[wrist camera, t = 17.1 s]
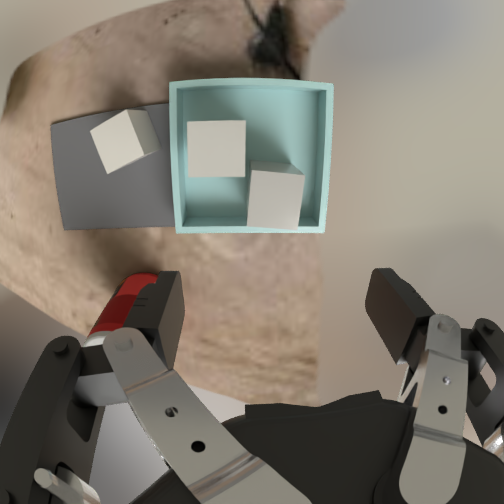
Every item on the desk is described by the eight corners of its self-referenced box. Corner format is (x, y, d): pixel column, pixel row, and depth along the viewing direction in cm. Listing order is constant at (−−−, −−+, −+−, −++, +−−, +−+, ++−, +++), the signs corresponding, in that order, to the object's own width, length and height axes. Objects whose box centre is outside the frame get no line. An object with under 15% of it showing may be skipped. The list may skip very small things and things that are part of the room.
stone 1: (129, 164, 25) (107, 174, 20) (114, 127, 23) (89, 131, 19) (161, 148, 24) (144, 154, 20) (146, 110, 23) (126, 109, 18)
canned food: (115, 267, 30) (71, 329, 20) (182, 273, 30) (158, 343, 20) (124, 320, 33) (94, 385, 23) (185, 327, 34) (168, 399, 24)
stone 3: (246, 203, 27) (246, 226, 21) (249, 159, 25) (251, 170, 19) (286, 207, 27) (297, 230, 21) (291, 163, 25) (305, 175, 20)
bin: (182, 221, 28) (176, 233, 25) (177, 86, 22) (169, 82, 19) (316, 221, 28) (324, 233, 25) (323, 87, 23) (333, 83, 20)
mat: (65, 228, 28) (64, 230, 27) (52, 124, 22) (50, 125, 22) (179, 225, 28) (178, 226, 28) (173, 103, 23) (172, 102, 22)
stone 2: (200, 165, 25) (188, 177, 20) (199, 122, 23) (187, 121, 18) (244, 164, 25) (244, 176, 20) (245, 121, 23) (245, 120, 18)
